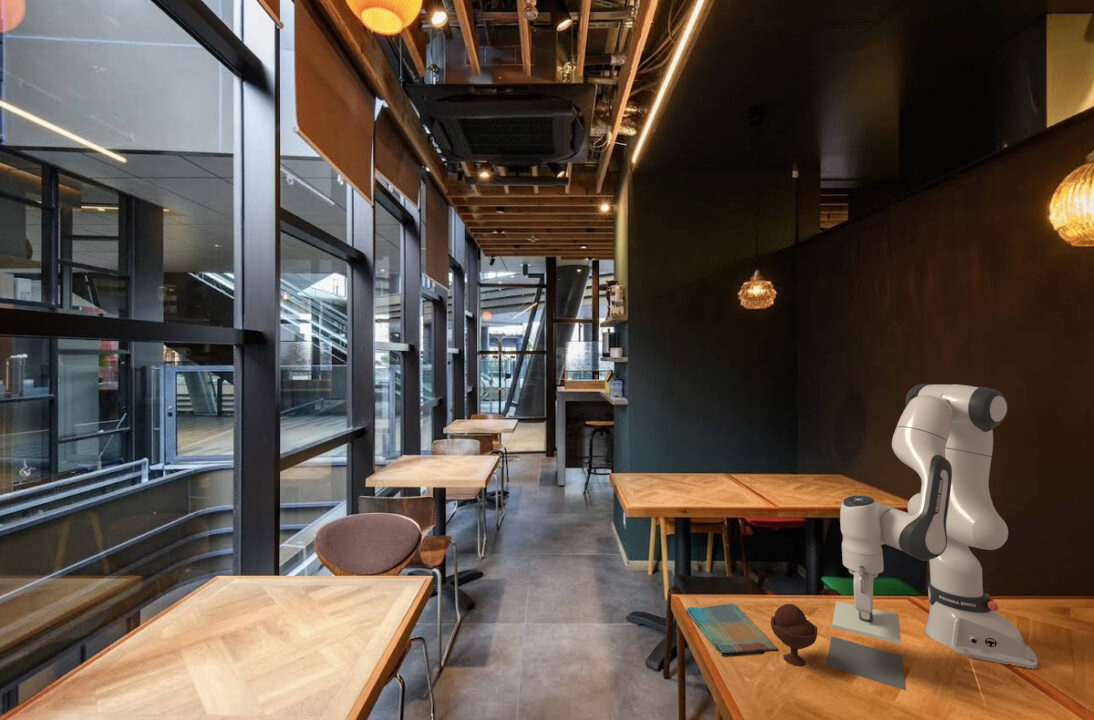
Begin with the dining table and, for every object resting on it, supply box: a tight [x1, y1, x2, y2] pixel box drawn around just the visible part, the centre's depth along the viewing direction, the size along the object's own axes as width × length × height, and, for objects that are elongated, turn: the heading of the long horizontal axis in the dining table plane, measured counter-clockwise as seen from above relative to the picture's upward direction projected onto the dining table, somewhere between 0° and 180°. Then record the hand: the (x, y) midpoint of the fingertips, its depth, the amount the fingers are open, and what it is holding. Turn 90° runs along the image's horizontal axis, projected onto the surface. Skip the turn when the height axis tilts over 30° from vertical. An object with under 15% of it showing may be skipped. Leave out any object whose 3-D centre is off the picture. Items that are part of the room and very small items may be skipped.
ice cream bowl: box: [770, 603, 818, 667], centre depth 120 cm, size 11×11×15 cm
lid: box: [832, 600, 902, 645], centre depth 120 cm, size 14×14×5 cm
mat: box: [826, 636, 907, 691], centre depth 119 cm, size 16×16×1 cm
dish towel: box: [685, 603, 780, 657], centre depth 135 cm, size 17×23×3 cm
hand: (865, 613), depth 120 cm, fingers closed on lid, 3 cm apart
